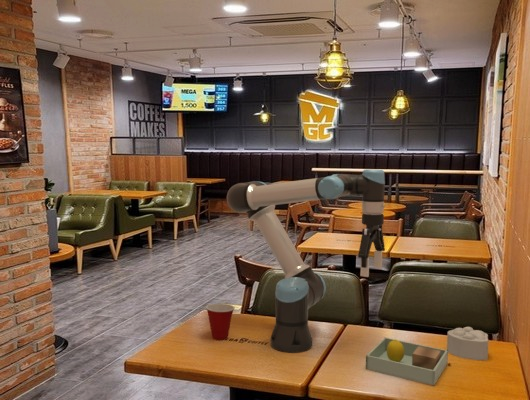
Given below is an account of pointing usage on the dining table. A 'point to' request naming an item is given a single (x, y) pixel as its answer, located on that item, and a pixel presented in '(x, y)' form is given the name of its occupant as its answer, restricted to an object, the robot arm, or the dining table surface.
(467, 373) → the dining table surface
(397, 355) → the lemon
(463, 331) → the lumpy-topped squat cylinder
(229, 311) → the plastic cup
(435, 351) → the walnut block
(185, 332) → the dining table surface
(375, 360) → the box
